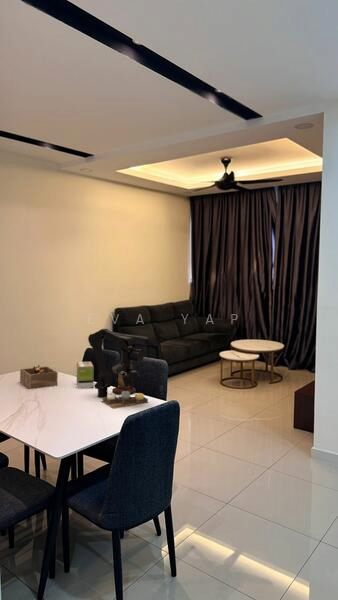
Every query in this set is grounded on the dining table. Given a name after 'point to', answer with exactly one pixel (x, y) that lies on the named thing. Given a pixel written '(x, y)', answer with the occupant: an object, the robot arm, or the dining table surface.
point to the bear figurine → (38, 370)
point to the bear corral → (38, 378)
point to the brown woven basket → (121, 387)
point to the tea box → (85, 374)
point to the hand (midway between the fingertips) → (125, 386)
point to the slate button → (125, 395)
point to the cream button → (111, 396)
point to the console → (123, 402)
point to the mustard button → (139, 396)
